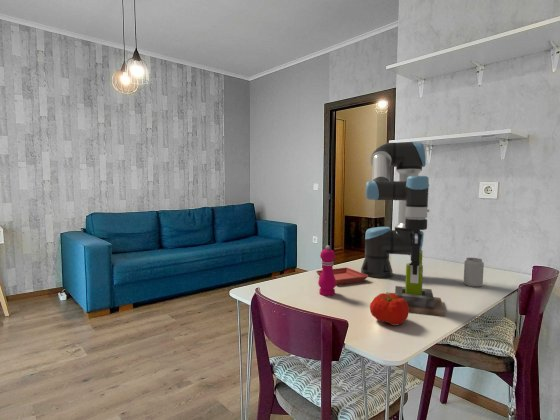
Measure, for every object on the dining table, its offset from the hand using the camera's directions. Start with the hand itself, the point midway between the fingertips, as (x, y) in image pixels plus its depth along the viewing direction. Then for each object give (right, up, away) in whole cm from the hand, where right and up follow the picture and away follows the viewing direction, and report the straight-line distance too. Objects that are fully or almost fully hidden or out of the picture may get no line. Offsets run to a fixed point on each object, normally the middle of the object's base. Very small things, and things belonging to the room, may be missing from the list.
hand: (414, 280), depth 133 cm
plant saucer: (-21, -7, +36) cm, 42 cm away
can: (+37, -8, +27) cm, 46 cm away
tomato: (-14, -11, -15) cm, 23 cm away
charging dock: (0, -9, +1) cm, 9 cm away
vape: (0, -7, 0) cm, 7 cm away
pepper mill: (-30, -8, +14) cm, 34 cm away
